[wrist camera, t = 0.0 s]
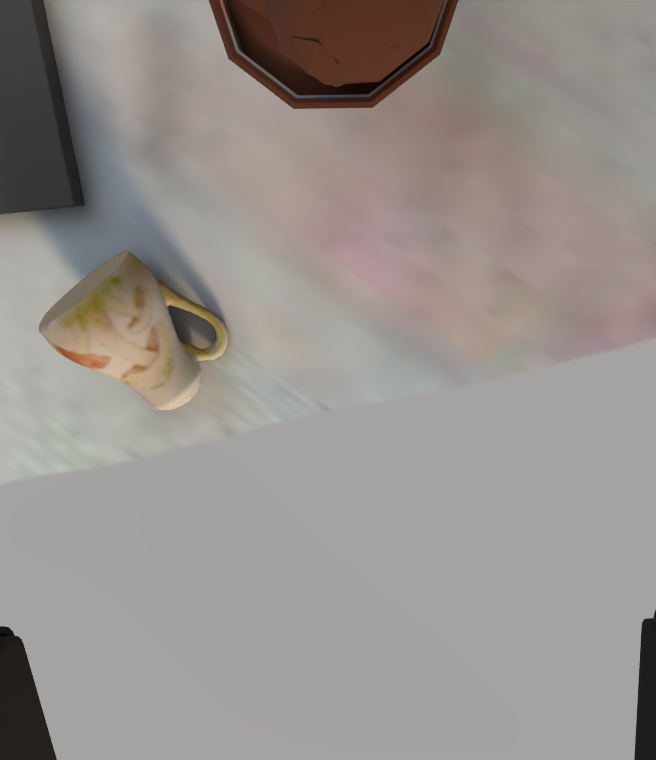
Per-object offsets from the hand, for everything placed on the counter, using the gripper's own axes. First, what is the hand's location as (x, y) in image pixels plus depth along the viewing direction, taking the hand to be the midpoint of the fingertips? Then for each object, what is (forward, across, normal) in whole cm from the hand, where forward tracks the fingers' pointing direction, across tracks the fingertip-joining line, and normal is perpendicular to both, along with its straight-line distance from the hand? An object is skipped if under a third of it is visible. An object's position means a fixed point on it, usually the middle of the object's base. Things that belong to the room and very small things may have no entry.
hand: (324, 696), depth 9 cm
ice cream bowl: (+31, 0, -16) cm, 35 cm away
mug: (+31, +14, 0) cm, 34 cm away
